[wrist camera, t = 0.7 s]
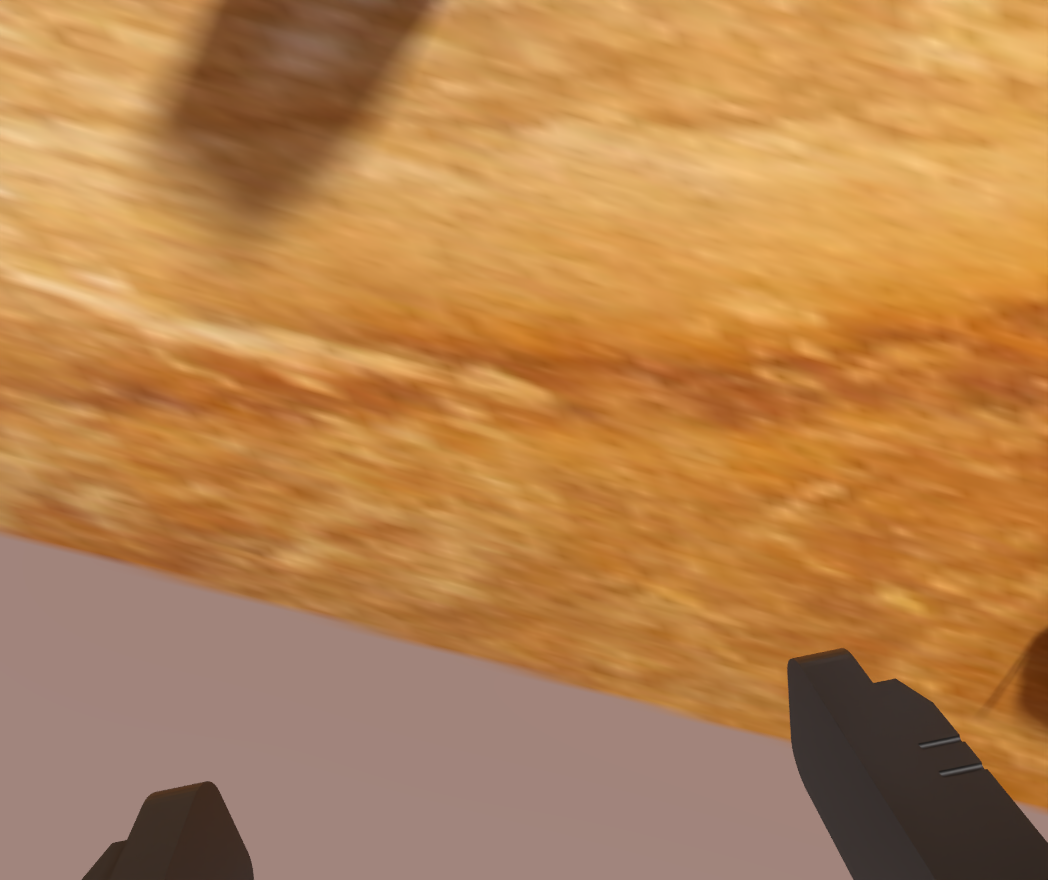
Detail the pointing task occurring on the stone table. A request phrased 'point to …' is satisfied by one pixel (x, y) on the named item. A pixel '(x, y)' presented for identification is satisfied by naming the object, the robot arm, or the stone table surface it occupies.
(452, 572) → the stone table surface
